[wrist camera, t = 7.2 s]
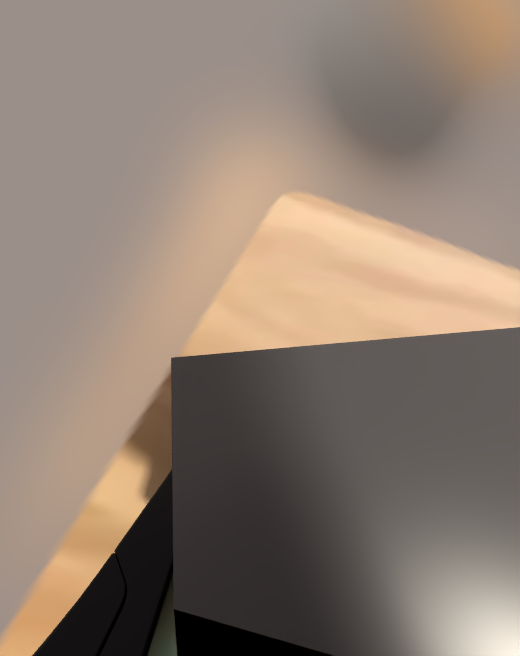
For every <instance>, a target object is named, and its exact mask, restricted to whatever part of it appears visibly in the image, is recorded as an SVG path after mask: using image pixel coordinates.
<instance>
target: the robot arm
mask: <svg viewBox="0 0 520 656" xmlns="http://www.w3.org/2000/svg"><path fill="white" fill-rule="evenodd" d="M32 656H177V647H176V633H175V620H174V587H173V482H172V470H171V472H170V473H169V474H168V476H167V477H166V479H165V480H164V481H163V483H162V484H161V486H160V487H159V488H158V490H157V491H156V493H155V494H154V495H153V497H152V498H151V500H150V501H149V503H148V504H147V505H146V507H145V508H144V510H143V511H142V512H141V514H140V515H139V517H138V518H137V519H136V521H135V522H134V524H133V525H132V526H131V528H130V529H129V531H128V532H127V533H126V535H125V536H124V538H123V539H122V541H121V542H120V543H119V545H118V546H117V548H116V549H115V553H112V554H111V556H110V557H109V559H108V560H107V561H106V563H105V564H104V566H103V567H102V568H101V570H100V571H99V573H98V574H97V575H96V577H95V578H94V579H93V581H92V582H91V583H90V585H89V586H88V587H87V589H86V590H85V591H84V593H83V594H82V595H81V597H80V598H79V599H78V601H77V602H76V603H75V604H74V606H73V607H72V608H71V609H70V611H69V612H68V613H67V614H66V615H65V617H64V618H63V619H62V620H61V622H60V623H59V624H58V625H57V627H56V628H55V629H54V630H53V632H52V633H51V634H50V635H49V636H48V638H47V639H46V640H45V641H44V642H43V644H42V645H41V646H40V647H39V648H38V650H37V651H36V652H35V653H34V654H33V655H32Z"/></svg>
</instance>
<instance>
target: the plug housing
mask: <svg viewBox="0 0 520 656" xmlns="http://www.w3.org/2000/svg"><path fill="white" fill-rule="evenodd" d="M171 377H172V482H173V587H174V620H175V633H176V647H177V656H520V327H518V328H507V329H495V330H484V331H472V332H461V333H450V334H438V335H427V336H415V337H404V338H392V339H381V340H370V341H358V342H347V343H335V344H324V345H312V346H301V347H290V348H278V349H267V350H255V351H244V352H232V353H221V354H210V355H198V356H187V357H175V358H171Z"/></svg>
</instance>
